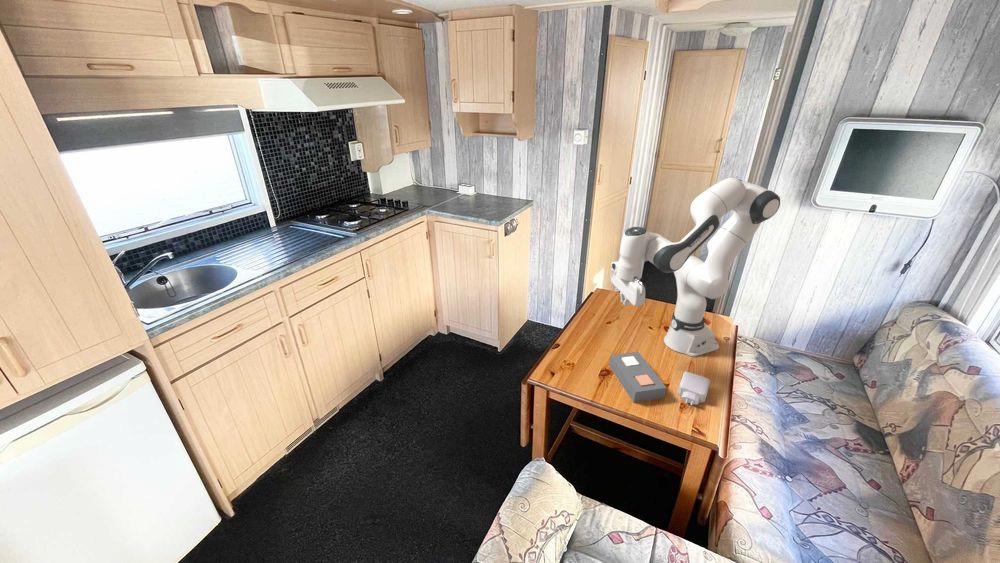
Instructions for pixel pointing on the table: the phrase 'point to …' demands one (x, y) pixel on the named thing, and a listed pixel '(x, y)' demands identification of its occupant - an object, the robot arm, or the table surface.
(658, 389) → the console
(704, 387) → the charger
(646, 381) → the terracotta key
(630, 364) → the white key
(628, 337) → the table surface
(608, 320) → the table surface
